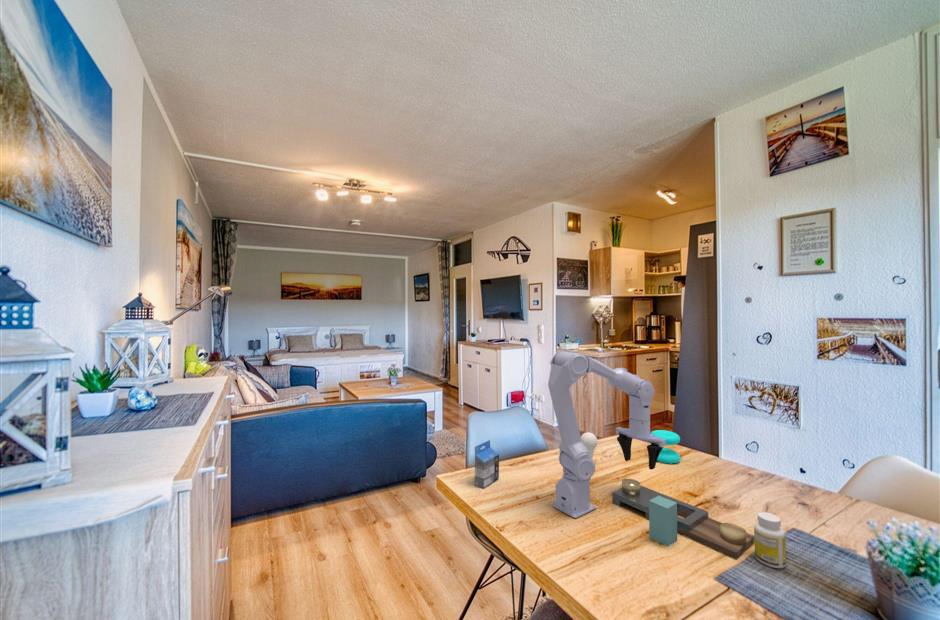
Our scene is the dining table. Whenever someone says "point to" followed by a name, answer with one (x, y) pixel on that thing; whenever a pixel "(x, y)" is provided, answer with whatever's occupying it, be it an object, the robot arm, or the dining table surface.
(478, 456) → the label tape cartridge
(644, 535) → the dining table surface
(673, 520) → the block
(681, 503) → the metal link
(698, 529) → the walnut link
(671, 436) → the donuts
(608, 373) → the robot arm
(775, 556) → the supplement bottle
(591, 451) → the lightbulb
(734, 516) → the dining table surface
